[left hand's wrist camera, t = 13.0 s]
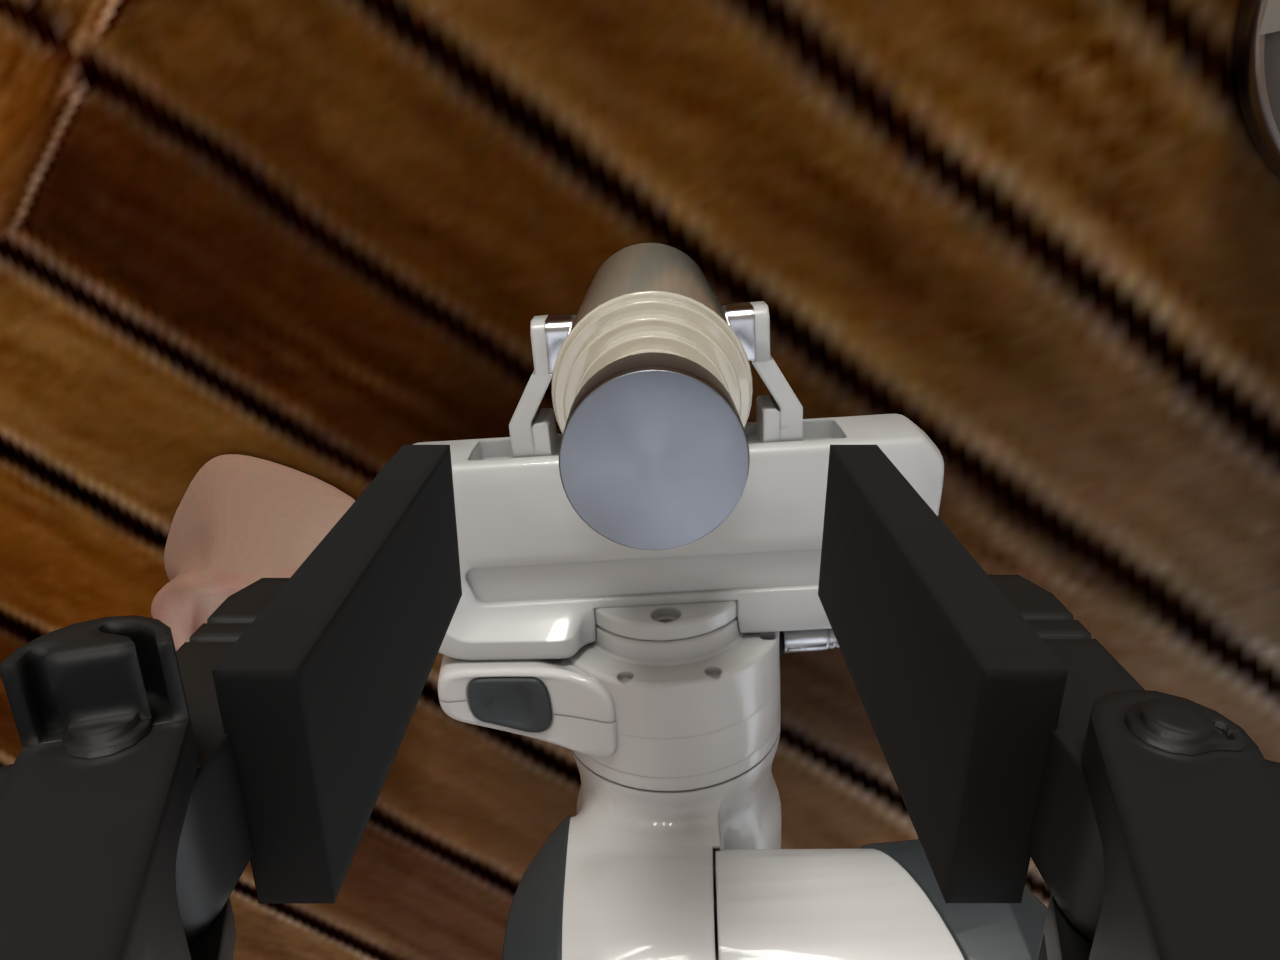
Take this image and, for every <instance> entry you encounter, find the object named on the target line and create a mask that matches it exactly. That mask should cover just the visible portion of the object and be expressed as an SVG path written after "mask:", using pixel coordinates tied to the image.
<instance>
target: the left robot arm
mask: <svg viewBox="0 0 1280 960" xmlns="http://www.w3.org/2000/svg"><path fill="white" fill-rule="evenodd" d="M1235 74H1236V83H1237V92H1238V97H1239V102H1240V106H1241V111H1242V114H1243V117H1244V120H1245V123H1246V126H1247V129H1248V131H1249V134H1250V136H1251V138H1252V140H1253V142H1254V144H1255V146H1256V148H1257V150H1258V151H1259V153H1260V155H1261V156H1262V158H1263V159H1264V161H1265V162H1266V164H1267V165H1268V166H1269V167H1270V169H1271V170H1272V171H1273V172H1274V174H1275V175H1276V176H1277V177H1278V178H1279V179H1280V0H1242V2H1241V7H1240V13H1239V18H1238V24H1237V32H1236V44H1235ZM461 596H462V587H461V574H460V562H459V550H458V538H457V525H456V513H455V501H454V489H453V476H452V464H451V452H450V445H402V447H401V448H400V449H399V450H398V451H397V453H396V454H395V455H394V456H393V457H392V458H391V460H390V461H389V462H388V463H387V464H386V465H385V467H384V468H383V469H382V470H381V471H380V473H379V474H378V475H377V476H376V477H375V478H374V480H373V481H372V482H371V483H370V484H369V486H368V487H367V488H366V489H365V490H364V491H363V493H362V494H361V495H360V496H359V497H358V498H357V500H356V501H355V502H354V503H353V504H352V506H351V507H350V508H349V509H348V510H347V511H346V513H345V514H344V515H343V516H342V517H341V519H340V520H339V521H338V522H337V523H336V524H335V526H334V527H333V528H332V529H331V530H330V531H329V533H328V534H327V535H326V536H325V537H324V539H323V540H322V541H321V542H320V543H319V544H318V546H317V547H316V548H315V549H314V550H313V552H312V553H311V554H310V555H309V556H308V557H307V559H306V560H305V561H304V562H303V563H302V564H301V566H300V567H299V568H298V569H297V570H296V572H295V573H294V574H293V575H292V576H291V577H290V578H261V579H259V580H258V581H256V582H254V583H252V584H250V585H249V586H247V587H245V588H243V589H241V590H240V591H238V592H236V593H234V594H232V595H231V596H229V597H228V598H227V599H226V600H225V601H224V602H223V603H222V604H221V605H220V606H219V607H218V608H217V609H216V610H215V611H214V612H213V613H212V614H211V616H210V617H209V618H208V619H207V623H203V624H202V625H201V626H200V627H199V628H198V629H197V630H196V631H195V632H194V633H193V634H192V635H191V636H190V641H189V642H185V643H184V644H183V645H182V646H181V647H180V648H179V649H178V650H177V651H176V650H175V645H174V641H173V636H172V632H171V628H170V627H169V626H167V625H166V624H164V623H163V622H161V621H160V620H158V619H153V618H147V617H141V616H118V617H105V618H100V619H95V620H90V621H86V622H81V623H76V624H72V625H70V626H67V627H64V628H61V629H58V630H56V631H53V632H50V633H47V634H45V635H42V636H40V637H38V638H36V639H35V640H33V641H31V642H29V643H27V644H26V645H24V646H22V647H20V648H18V649H16V650H15V651H14V652H13V653H12V654H11V655H10V656H9V657H8V658H6V659H5V660H4V661H3V662H2V663H1V664H0V674H1V677H2V680H3V684H4V687H5V690H6V694H7V697H8V700H9V703H10V707H11V710H12V713H13V717H14V720H15V723H16V726H17V730H18V733H19V736H20V740H21V743H22V746H23V748H22V750H21V751H20V753H19V755H18V757H17V759H16V760H15V762H14V764H11V765H7V766H2V767H0V960H232V959H233V952H234V945H235V938H236V929H235V922H234V915H233V910H232V906H231V901H230V897H229V896H230V894H231V892H232V891H233V889H234V887H235V885H236V884H237V882H238V880H239V878H240V876H241V875H242V873H243V871H244V869H245V868H246V866H247V864H248V862H249V860H250V862H251V867H252V871H253V876H254V881H255V886H256V891H257V896H258V901H259V903H334V902H335V900H336V898H337V895H338V893H339V890H340V888H341V886H342V883H343V881H344V878H345V876H346V873H347V871H348V869H349V866H350V864H351V861H352V859H353V857H354V854H355V852H356V849H357V847H358V845H359V842H360V840H361V837H362V835H363V832H364V830H365V828H366V825H367V823H368V820H369V818H370V816H371V813H372V811H373V808H374V806H375V804H376V801H377V799H378V796H379V794H380V791H381V789H382V787H383V784H384V782H385V779H386V777H387V775H388V772H389V770H390V767H391V765H392V763H393V760H394V758H395V755H396V753H397V750H398V748H399V746H400V743H401V741H402V738H403V736H404V734H405V731H406V729H407V726H408V724H409V722H410V719H411V717H412V714H413V712H414V709H415V707H416V705H417V702H418V700H419V697H420V695H421V693H422V690H423V688H424V685H425V683H426V681H427V678H428V676H429V673H430V671H431V668H432V666H433V664H434V661H435V659H436V656H437V654H438V652H439V649H440V647H441V644H442V642H443V640H444V637H445V635H446V632H447V630H448V627H449V625H450V623H451V620H452V618H453V615H454V613H455V611H456V608H457V606H458V603H459V601H460V599H461ZM818 596H819V599H820V601H821V603H822V606H823V608H824V611H825V613H826V615H827V618H828V620H829V623H830V625H831V627H832V630H833V632H834V635H835V637H836V640H837V642H838V644H839V647H840V649H841V652H842V654H843V656H844V659H845V661H846V664H847V666H848V668H849V671H850V673H851V676H852V678H853V681H854V683H855V685H856V688H857V690H858V693H859V695H860V697H861V700H862V702H863V705H864V707H865V709H866V712H867V714H868V717H869V719H870V722H871V724H872V726H873V729H874V731H875V734H876V736H877V738H878V741H879V743H880V746H881V748H882V750H883V753H884V755H885V758H886V760H887V763H888V765H889V767H890V770H891V772H892V775H893V777H894V779H895V782H896V784H897V787H898V789H899V791H900V794H901V796H902V799H903V801H904V804H905V806H906V808H907V811H908V813H909V816H910V818H911V820H912V823H913V825H914V828H915V830H916V832H917V835H918V837H919V840H920V842H921V845H922V847H923V849H924V852H925V854H926V857H927V859H928V861H929V864H930V866H931V869H932V871H933V873H934V876H935V878H936V881H937V883H938V886H939V888H940V890H941V893H942V895H943V898H944V900H945V902H946V903H1021V901H1022V896H1023V891H1024V886H1025V881H1026V876H1027V871H1028V867H1029V862H1030V857H1031V858H1032V860H1033V861H1034V863H1035V865H1036V867H1037V868H1038V870H1039V872H1040V874H1041V875H1042V877H1043V879H1044V881H1045V883H1046V884H1047V886H1048V888H1049V890H1050V891H1051V897H1050V901H1049V906H1048V910H1047V915H1046V920H1045V924H1044V929H1043V933H1042V938H1041V942H1040V947H1039V952H1038V956H1037V960H1280V763H1278V762H1273V761H1269V760H1265V759H1264V757H1263V755H1262V753H1261V752H1260V750H1259V748H1258V746H1257V745H1256V744H1255V743H1254V742H1253V740H1252V739H1251V738H1250V737H1249V736H1248V735H1247V734H1246V732H1245V731H1244V730H1243V729H1242V728H1241V727H1239V726H1238V725H1236V724H1235V723H1233V722H1232V721H1230V720H1229V719H1227V718H1226V717H1224V716H1222V715H1221V714H1219V713H1218V712H1216V711H1214V710H1212V709H1209V708H1207V707H1205V706H1202V705H1200V704H1197V703H1195V702H1193V701H1190V700H1188V699H1185V698H1181V697H1177V696H1173V695H1169V694H1165V693H1161V692H1157V691H1145V690H1144V689H1143V688H1142V687H1141V686H1140V685H1139V683H1138V682H1137V681H1136V680H1135V679H1134V678H1133V677H1132V676H1131V675H1130V674H1129V673H1128V672H1127V671H1126V670H1125V669H1124V668H1123V667H1122V666H1121V665H1120V664H1119V663H1118V662H1117V661H1116V660H1115V659H1114V658H1113V656H1112V655H1111V654H1110V653H1109V652H1108V651H1107V650H1106V649H1105V648H1104V647H1103V646H1102V645H1101V644H1100V643H1099V642H1098V641H1097V640H1096V639H1091V634H1090V633H1089V632H1088V631H1087V629H1086V628H1085V627H1084V626H1083V625H1082V624H1081V623H1080V622H1079V621H1078V620H1074V619H1073V615H1072V614H1071V613H1070V612H1069V611H1068V610H1067V609H1066V608H1065V607H1064V606H1063V605H1062V603H1061V602H1060V601H1059V600H1058V599H1057V598H1056V597H1055V596H1054V595H1053V594H1052V593H1050V592H1048V591H1046V590H1044V589H1043V588H1041V587H1039V586H1037V585H1035V584H1034V583H1032V582H1030V581H1028V580H1026V579H1025V578H1023V577H1021V576H1019V575H987V574H986V573H985V572H984V570H983V569H982V568H981V567H980V566H979V564H978V563H977V562H976V561H975V560H974V559H973V557H972V556H971V555H970V554H969V553H968V552H967V550H966V549H965V548H964V547H963V546H962V544H961V543H960V542H959V541H958V540H957V539H956V537H955V536H954V535H953V534H952V533H951V531H950V530H949V529H948V528H947V527H946V526H945V524H944V523H943V522H942V521H941V520H940V519H939V517H938V516H937V515H936V514H935V513H934V511H933V510H932V509H931V508H930V507H929V506H928V504H927V503H926V502H925V501H924V500H923V498H922V497H921V496H920V495H919V494H918V493H917V491H916V490H915V489H914V488H913V487H912V486H911V484H910V483H909V482H908V481H907V480H906V478H905V477H904V476H903V475H902V474H901V473H900V471H899V470H898V469H897V468H896V467H895V466H894V464H893V463H892V462H891V461H890V460H889V458H888V457H887V456H886V455H885V454H884V453H883V451H882V450H881V449H880V448H879V447H878V445H830V452H829V464H828V476H827V489H826V501H825V513H824V525H823V538H822V550H821V562H820V574H819V587H818Z"/></svg>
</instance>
